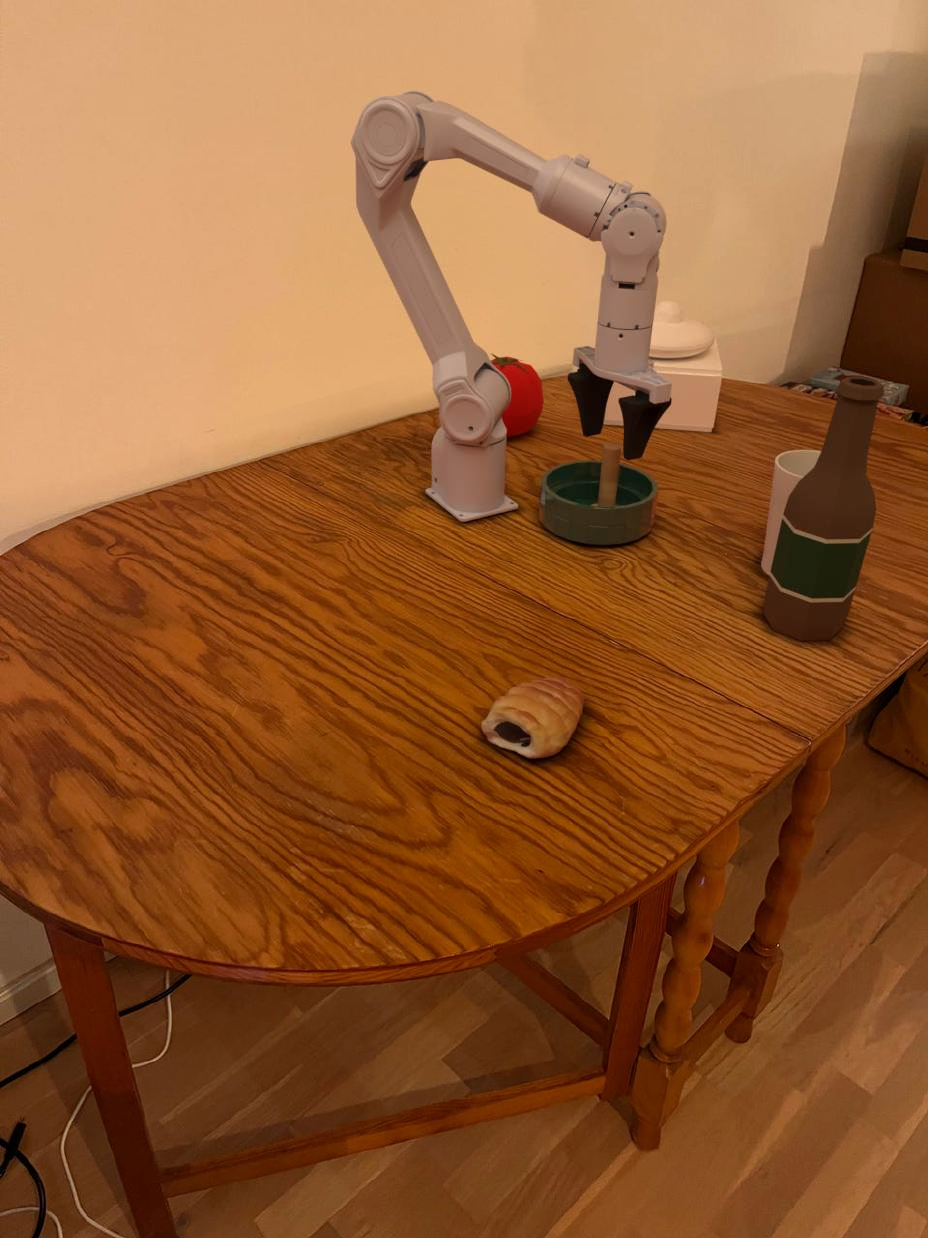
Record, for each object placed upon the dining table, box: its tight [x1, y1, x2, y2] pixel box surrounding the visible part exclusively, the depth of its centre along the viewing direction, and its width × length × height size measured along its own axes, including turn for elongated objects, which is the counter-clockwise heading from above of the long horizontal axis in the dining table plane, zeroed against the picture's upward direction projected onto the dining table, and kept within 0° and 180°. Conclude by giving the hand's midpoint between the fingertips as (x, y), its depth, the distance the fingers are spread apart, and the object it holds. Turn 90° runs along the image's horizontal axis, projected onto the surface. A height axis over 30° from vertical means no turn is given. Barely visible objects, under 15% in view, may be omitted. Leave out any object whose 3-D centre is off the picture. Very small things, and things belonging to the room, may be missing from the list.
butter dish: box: [603, 300, 723, 433], centre depth 136 cm, size 18×18×16 cm
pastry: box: [480, 676, 585, 759], centre depth 74 cm, size 9×7×4 cm
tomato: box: [490, 353, 545, 438], centre depth 128 cm, size 13×12×11 cm
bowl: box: [538, 459, 659, 546], centre depth 105 cm, size 13×13×5 cm
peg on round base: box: [590, 442, 623, 507], centre depth 104 cm, size 4×4×9 cm
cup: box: [760, 449, 822, 576], centre depth 95 cm, size 8×8×12 cm
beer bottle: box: [762, 375, 885, 642], centre depth 83 cm, size 8×8×24 cm
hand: (611, 445), depth 102 cm, fingers open, 7 cm apart
